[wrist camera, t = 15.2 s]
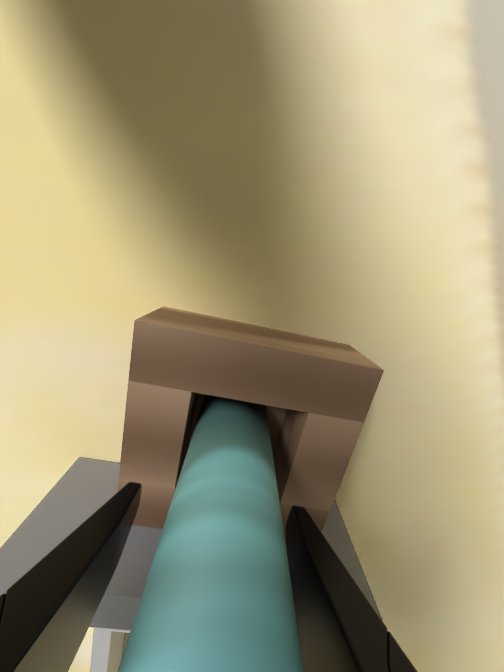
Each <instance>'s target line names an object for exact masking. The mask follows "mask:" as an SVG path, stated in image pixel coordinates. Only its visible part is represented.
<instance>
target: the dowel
mask: <svg viewBox="0 0 504 672" xmlns="http://www.w3.org/2000/svg"><path fill="white" fill-rule="evenodd" d="M118 672H304V669H303V662H302V655H301V648H300V641H299V634H298V627H297V620H296V613H295V606H294V599H293V592H292V585H291V578H290V571H289V564H288V558H287V551H286V544H285V537H284V530H283V523H282V516H281V509H280V502H279V495H278V488H277V481H276V474H275V467H274V460H273V453H272V446H271V439H270V432H269V425H268V419H267V412H266V406H265V405H262V404H257V403H251V402H246V401H240V400H234V399H229V398H223V397H218V396H212V395H206V397H205V399H204V401H203V403H202V407H201V410H200V413H199V416H198V419H197V422H196V426H195V429H194V432H193V435H192V438H191V441H190V445H189V448H188V451H187V454H186V457H185V460H184V464H183V467H182V470H181V473H180V476H179V479H178V483H177V486H176V489H175V492H174V495H173V498H172V502H171V505H170V508H169V511H168V514H167V517H166V520H165V524H164V527H163V530H162V533H161V536H160V539H159V543H158V546H157V549H156V552H155V555H154V558H153V562H152V565H151V568H150V571H149V574H148V577H147V581H146V584H145V587H144V590H143V593H142V596H141V600H140V603H139V606H138V609H137V612H136V615H135V619H134V622H133V625H132V628H131V631H130V634H129V638H128V641H127V644H126V647H125V650H124V653H123V657H122V660H121V663H120V666H119V669H118Z"/></svg>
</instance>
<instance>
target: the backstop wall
mask: <svg viewBox="0 0 504 672" xmlns="http://www.w3.org/2000/svg"><path fill="white" fill-rule="evenodd" d="M119 472H120V463H115V462H108V461H102V460H95V459H88V458H82V457H79V458H78V459H77V460H76V462H75V463H74V464H73V465H72V466H71V467H70V469H69V470H68V471H67V472H66V473H65V474H64V475H63V477H62V478H61V479H60V480H59V481H58V482H57V484H56V485H55V486H54V487H53V488H52V489H51V490H50V492H49V493H48V494H47V495H46V496H45V497H44V499H43V500H42V501H41V502H40V503H39V504H38V505H37V507H36V508H35V509H34V510H33V511H32V512H31V514H30V515H29V516H28V517H27V518H26V519H25V520H24V522H23V523H22V524H21V525H20V526H19V527H18V529H17V530H16V531H15V532H14V533H13V534H12V535H11V537H10V538H9V539H8V540H7V541H6V542H5V544H4V545H3V546H2V547H1V548H0V595H1V594H3V593H5V594H6V591H7V589H8V588H10V587H11V586H12V585H13V584H14V583H15V582H16V581H17V580H19V579H20V578H21V577H22V576H23V575H24V574H25V573H27V572H28V571H29V570H30V569H31V568H32V567H33V566H34V565H36V564H37V563H38V562H39V561H40V560H41V559H42V558H43V557H45V556H46V555H47V554H48V553H49V552H50V551H51V550H53V549H54V548H55V547H56V546H57V545H58V544H59V543H60V542H62V541H63V540H64V539H65V538H66V537H67V536H68V535H70V534H71V533H72V532H73V531H74V530H75V529H76V528H77V527H79V526H80V525H81V524H82V523H83V522H84V521H85V520H86V519H88V518H89V517H90V516H91V515H92V514H93V513H94V512H96V511H97V510H98V509H99V508H100V507H101V506H102V505H103V504H105V503H106V502H107V501H108V500H109V499H110V498H111V497H112V496H114V495H115V494H116V493H117V492H118V482H119ZM162 530H163V529H159V528H151V527H143V526H135V525H132V527H131V530H130V533H129V535H128V538H127V541H126V544H125V546H124V549H123V552H122V555H121V557H120V560H119V562H118V565H117V567H116V570H115V572H114V574H113V576H112V579H111V581H110V583H109V585H108V587H107V589H106V591H105V594H104V596H103V598H102V600H101V602H100V604H99V606H98V608H97V611H96V613H95V615H94V617H93V619H92V621H91V623H90V626H89V627H96V628H107V629H118V630H129V631H131V628H132V625H133V622H134V619H135V615H136V612H137V609H138V606H139V603H140V600H141V596H142V593H143V590H144V587H145V584H146V581H147V577H148V574H149V571H150V568H151V565H152V562H153V558H154V555H155V552H156V549H157V546H158V543H159V539H160V536H161V533H162ZM322 534H323V535H324V537H325V538H326V539H327V541H328V542H329V544H330V545H331V547H332V548H333V550H334V551H335V553H336V554H337V556H338V557H339V558H340V560H341V561H342V563H343V564H344V566H345V567H346V569H347V570H348V572H349V573H350V575H351V576H352V577H353V579H354V580H355V582H356V583H357V585H358V586H359V588H360V589H361V591H362V592H363V594H364V595H365V597H366V598H367V599H368V601H369V602H370V604H371V605H372V607H373V608H374V610H375V611H376V613H377V614H378V616H379V617H380V618H381V615H380V613H379V610H378V608H377V605H376V602H375V600H374V597H373V595H372V592H371V590H370V587H369V585H368V582H367V580H366V577H365V575H364V572H363V570H362V567H361V565H360V562H359V559H358V557H357V554H356V552H355V549H354V547H353V544H352V542H351V539H350V537H349V534H348V532H347V529H346V527H345V524H344V522H343V519H342V516H341V514H340V511H339V509H338V506H337V504H336V501H335V499H334V501H333V504H332V506H331V509H330V511H329V514H328V517H327V519H326V522H325V524H324V527H323V530H322ZM286 551H287V546H286ZM381 620H382V618H381ZM382 621H383V620H382Z"/></svg>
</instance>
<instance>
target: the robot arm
mask: <svg viewBox="0 0 504 672" xmlns="http://www.w3.org/2000/svg"><path fill="white" fill-rule="evenodd" d="M141 490H142V484H141V483H136V482H129V483H127V484H126V485H125V486H124V487H123V488H122V489H120V490H119V491H118V492H117V493H116V494H115V495H114V496H112V497H111V498H110V499H109V500H108V501H107V502H106V503H105V504H103V505H102V506H101V507H100V508H99V509H98V510H97V511H96V512H94V513H93V514H92V515H91V516H90V517H89V518H88V519H86V520H85V521H84V522H83V523H82V524H81V525H80V526H79V527H77V528H76V529H75V530H74V531H73V532H72V533H71V534H70V535H68V536H67V537H66V538H65V539H64V540H63V541H62V542H60V543H59V544H58V545H57V546H56V547H55V548H54V549H53V550H51V551H50V552H49V553H48V554H47V555H46V556H45V557H43V558H42V559H41V560H40V561H39V562H38V563H37V564H36V565H34V566H33V567H32V568H31V569H30V570H29V571H28V572H27V573H25V574H24V575H23V576H22V577H21V578H20V579H19V580H17V581H16V582H15V583H14V584H13V585H12V586H11V587H10V588H8V589H7V591H6V594H5V593H3V594H1V595H0V672H68V670H69V668H70V666H71V664H72V662H73V660H74V657H75V655H76V653H77V651H78V649H79V647H80V645H81V643H82V640H83V638H84V636H85V634H86V632H87V630H88V628H89V626H90V623H91V621H92V619H93V617H94V615H95V613H96V611H97V608H98V606H99V604H100V602H101V600H102V598H103V596H104V594H105V591H106V589H107V587H108V585H109V583H110V581H111V579H112V576H113V574H114V572H115V570H116V567H117V565H118V562H119V560H120V557H121V555H122V552H123V549H124V546H125V544H126V541H127V538H128V535H129V533H130V530H131V527H132V525H133V522H134V519H135V516H136V514H137V511H138V508H139V504H140V497H141ZM286 546H287V558H288V564H289V571H290V578H291V585H292V592H293V599H294V606H295V613H296V620H297V627H298V634H299V641H300V648H301V655H302V662H303V669H304V672H417V670H416V669H415V667H414V666H413V665H412V663H411V662H410V660H409V659H408V658H407V656H406V655H405V653H404V652H403V650H402V649H401V648H400V646H399V645H398V643H397V642H396V640H395V639H394V637H393V636H392V634H391V633H390V632H389V631H387V627H386V626H385V624H384V623H383V621H382V620H381V618H380V617H379V616H378V614H377V613H376V611H375V610H374V608H373V607H372V605H371V604H370V602H369V601H368V599H367V598H366V597H365V595H364V594H363V592H362V591H361V589H360V588H359V586H358V585H357V583H356V582H355V580H354V579H353V577H352V576H351V575H350V573H349V572H348V570H347V569H346V567H345V566H344V564H343V563H342V561H341V560H340V558H339V557H338V556H337V554H336V553H335V551H334V550H333V548H332V547H331V545H330V544H329V542H328V541H327V539H326V538H325V537H324V535H323V534H322V532H321V531H320V529H319V528H318V526H317V525H316V523H315V522H314V520H313V519H312V517H311V516H310V515H309V513H308V512H307V510H306V509H305V508H304V507H302V506H296V505H293V506H292V507H291V510H290V513H289V516H288V519H287V522H286Z"/></svg>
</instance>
